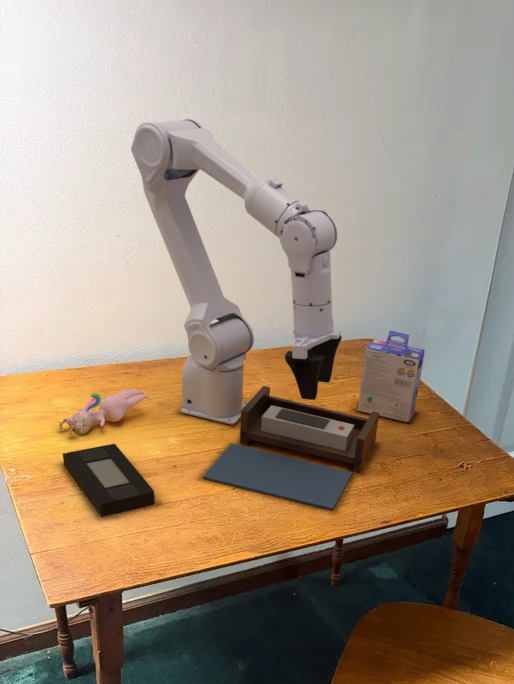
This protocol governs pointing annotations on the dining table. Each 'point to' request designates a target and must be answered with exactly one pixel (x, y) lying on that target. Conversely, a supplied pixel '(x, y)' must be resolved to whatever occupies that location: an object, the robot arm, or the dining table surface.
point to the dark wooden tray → (353, 454)
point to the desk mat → (279, 476)
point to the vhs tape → (108, 479)
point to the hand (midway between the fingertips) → (316, 389)
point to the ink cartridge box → (391, 378)
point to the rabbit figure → (103, 410)
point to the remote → (307, 427)
